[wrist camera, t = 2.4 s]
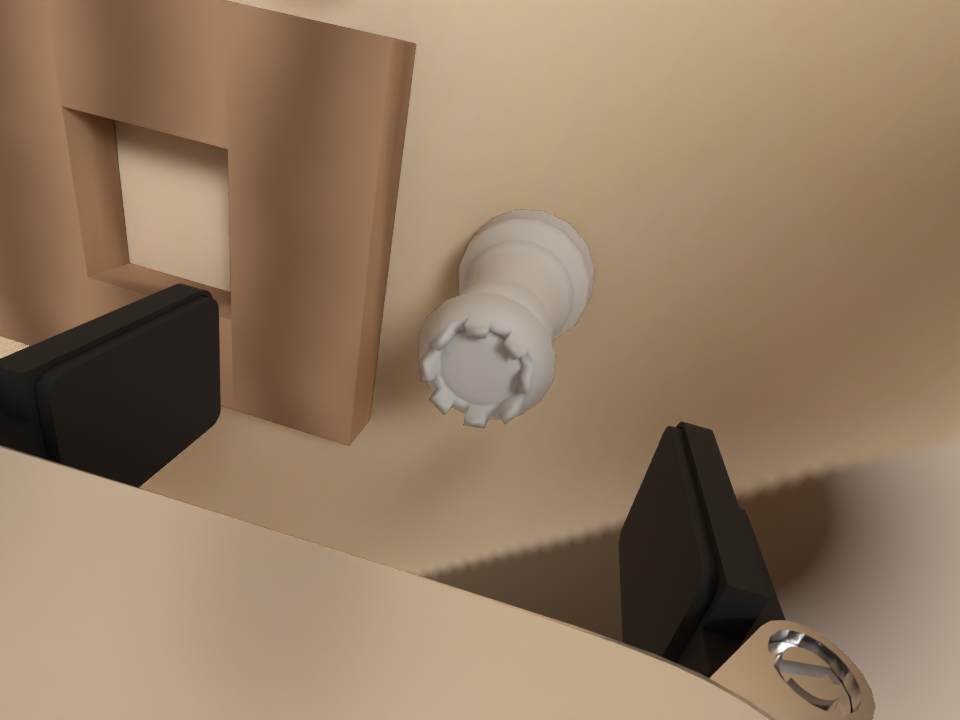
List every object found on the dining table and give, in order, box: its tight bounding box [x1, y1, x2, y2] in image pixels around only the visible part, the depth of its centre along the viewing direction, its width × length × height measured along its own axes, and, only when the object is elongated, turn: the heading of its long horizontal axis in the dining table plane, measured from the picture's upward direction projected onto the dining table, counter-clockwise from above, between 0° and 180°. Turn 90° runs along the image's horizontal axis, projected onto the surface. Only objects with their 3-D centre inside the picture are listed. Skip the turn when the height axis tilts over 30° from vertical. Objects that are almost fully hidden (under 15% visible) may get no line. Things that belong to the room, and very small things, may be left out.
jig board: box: [0, 0, 416, 446], centre depth 20 cm, size 16×14×2 cm
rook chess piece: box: [418, 209, 594, 428], centre depth 15 cm, size 4×4×8 cm
